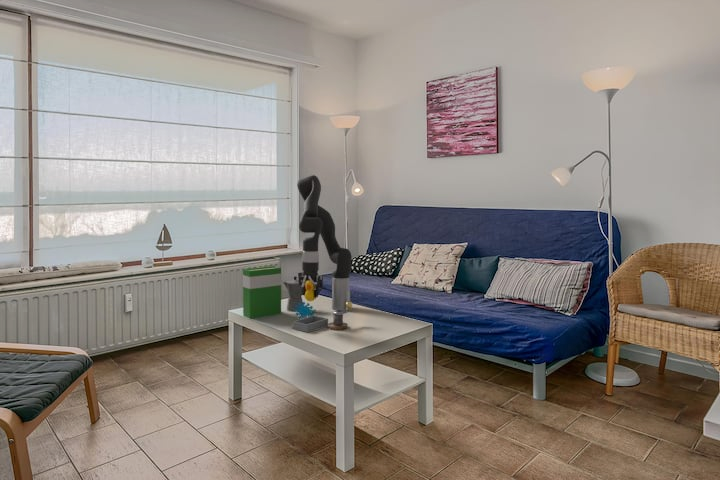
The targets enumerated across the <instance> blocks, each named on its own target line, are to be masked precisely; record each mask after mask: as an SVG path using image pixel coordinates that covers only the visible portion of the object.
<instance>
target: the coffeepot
mask: <svg viewBox="0 0 720 480" xmlns="http://www.w3.org/2000/svg"><path fill="white" fill-rule="evenodd" d="M297 278H298V277H297V276H293V279H292V280H287V281H283V282H282V283H283V285H284V286H285V288H286V289H287V294H288V299H287V304H286V310H287V311H289V312H295V309H297V308H295V306H296V305H298V303H301V306H302V305H303V304H302V303H303V302H304V301H303V297H302V295H303V294H302V286H301V285H299V279H297ZM301 282H302V280H301ZM303 296H304V297H305V295H303ZM298 307H299V308H300V306H299V305H298ZM297 310H298V309H297ZM295 313H296V312H295Z"/></svg>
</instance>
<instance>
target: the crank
mask: <svg viewBox="0 0 720 480" xmlns="http://www.w3.org/2000/svg"><path fill="white" fill-rule="evenodd" d="M352 310H353V302H352V301H350V302H346V309H344V310H335V311H333V312H332V313H333V315H335V316H341V315H343V316H344V314H348V313H351V312H352Z"/></svg>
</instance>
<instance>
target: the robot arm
mask: <svg viewBox="0 0 720 480" xmlns="http://www.w3.org/2000/svg"><path fill="white" fill-rule="evenodd" d="M296 186H297V189H298V192H299V194H300V196H301V197H302V199H303V201H304V203H303V206H302V216H300V219H299V223H298V229H299V230H300V231H301V232H302V233H304V234H305V233H306V234H307V233H311V234H313V233H314V234H313V235H312V236H310V237H305V238H304V239H303V240H302V258H301V259H302V260H301V261H302V266H301V267H302V268H301V270H302V271H301V272H298V273H297V275H298V277H297V278H298V279H297V280H299V285H301V286H302V294H301V295H303V296H304V295H305V293H306V291H307V290H306V288H305V284H306V282H307V281H308V280H310V281H311V282H312V284H313V286H314V297H315V298H316V299H317V298H318V297H319V292H320V291H319V289H322V288H323V286H324V285H323V283H324V275H319V272H318V271H319V269H320V265H319V264H320V263H319V262H320V259H319V258H320V257H319V256H320V255H319V239H320V237H321V240H322V241H323V244H324V246H325V248H326V251H327V255H328V257H329V260H330V261H331V262H332V263H333V264H335V265H336V268H335V270H333V271H332V274H331V277H332V278H331V279H332V281H331V283H332V284H331V285H332V286H331V291H332V292H331V302H332V303H331V308H332V310H335V311H341V310H344V309H346V302H351V290H350V274H351V271H352V252H351V251H350V249H348V248H345V247H342V246H340V244H339V242H338V239H337V238H336V224H335V222H334V219H333V218H332V215H331V213H330V212H329V211H328V210H327V209H325V208H323V206H320V205H319V200H320V196H321V192H322V185H321V181H320V180H319V177H318V176H316V175H315V174H314V175H313V174H312V175H310V176H307V177H304V178H301V179H299V180H297V183H296ZM301 281H302V282H301ZM314 282H315V283H314Z"/></svg>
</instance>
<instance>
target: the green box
mask: <svg viewBox="0 0 720 480" xmlns="http://www.w3.org/2000/svg"><path fill="white" fill-rule="evenodd" d="M242 309H243V312H242V314H243V317H245V318H248V319H250V320H251V319H257V318H263V317H269V316H274V315H280V314H282V267H275V265H271V266H261V267H252V268H251V267H250V268H243V269H242Z"/></svg>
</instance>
